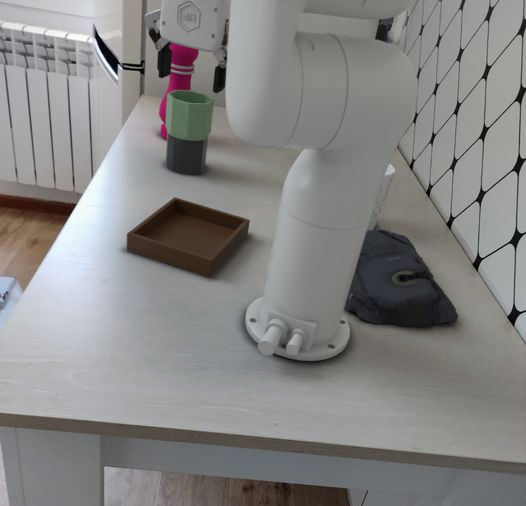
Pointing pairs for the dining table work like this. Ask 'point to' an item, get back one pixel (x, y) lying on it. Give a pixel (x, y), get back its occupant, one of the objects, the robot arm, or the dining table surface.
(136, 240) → the tray
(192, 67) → the pepper mill
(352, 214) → the robot arm
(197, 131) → the top tub
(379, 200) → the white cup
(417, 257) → the dark slate chunk
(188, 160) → the dark grey tub
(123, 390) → the dining table surface
